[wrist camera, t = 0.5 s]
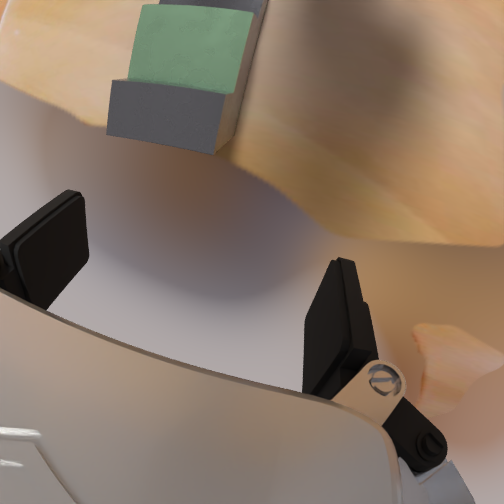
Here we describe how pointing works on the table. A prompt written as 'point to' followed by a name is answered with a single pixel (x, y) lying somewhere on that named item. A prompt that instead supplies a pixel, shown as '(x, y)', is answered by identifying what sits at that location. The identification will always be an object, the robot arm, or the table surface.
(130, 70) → the stepped stand
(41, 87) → the table surface
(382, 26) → the table surface
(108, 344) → the robot arm
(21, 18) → the table surface
